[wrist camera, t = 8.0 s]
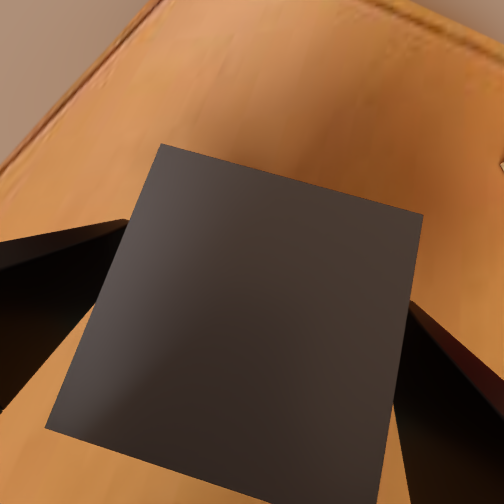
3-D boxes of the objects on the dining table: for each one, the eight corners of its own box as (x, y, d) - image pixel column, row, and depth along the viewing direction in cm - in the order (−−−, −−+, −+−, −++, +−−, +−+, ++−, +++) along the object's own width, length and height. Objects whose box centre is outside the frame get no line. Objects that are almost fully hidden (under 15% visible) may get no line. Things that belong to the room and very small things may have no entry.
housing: (277, 361, 16) (370, 536, 4) (198, 337, 16) (43, 428, 4) (298, 280, 17) (424, 209, 5) (223, 258, 17) (162, 138, 5)
